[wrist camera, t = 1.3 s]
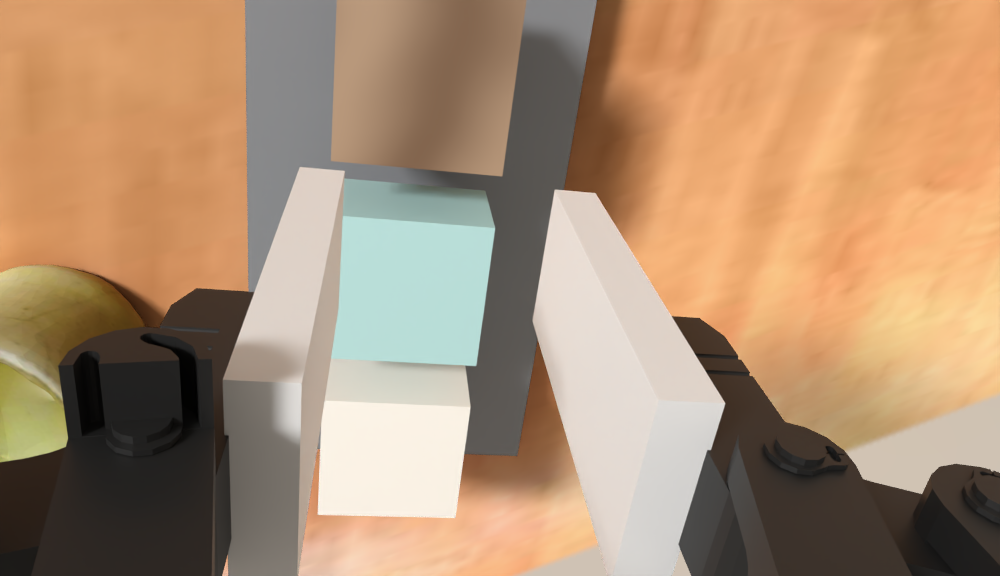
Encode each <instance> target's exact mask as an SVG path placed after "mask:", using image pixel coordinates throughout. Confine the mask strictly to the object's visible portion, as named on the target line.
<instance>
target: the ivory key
mask: <svg viewBox="0 0 1000 576" xmlns="http://www.w3.org/2000/svg"><path fill="white" fill-rule="evenodd" d="M470 408H471V406H470V398H469V391H468V383H467V375H466V367H465V365H446V364H427V363H408V362H389V361H369V360H350V359H331V362H330V368H329V375H328V381H327V388H326V395H325V401H324V408H323V414H322V421H321V443H320V470H319V497H318V515H349V516H394V517H440V518H455V517H456V510H457V502H458V495H459V488H460V481H461V473H462V466H463V459H464V452H465V444H466V437H467V430H468V422H469V415H470Z"/></svg>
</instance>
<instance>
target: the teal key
mask: <svg viewBox="0 0 1000 576" xmlns="http://www.w3.org/2000/svg"><path fill="white" fill-rule="evenodd" d="M494 233H495V225H494V222H493V218H492V214H491V210H490V207H489V203H488V199H487V195H486V192H485V191H484V190H472V189H461V188H449V187H438V186H426V185H415V184H403V183H392V182H380V181H369V180H357V179H346V178H344V198H343V220H342V242H341V264H340V286H339V308H338V315H337V322H336V329H335V335H334V342H333V348H332V355H331V359H350V360H369V361H389V362H408V363H427V364H446V365H465V366H476V364H477V357H478V350H479V342H480V335H481V328H482V321H483V313H484V306H485V299H486V292H487V284H488V277H489V270H490V262H491V255H492V248H493V241H494Z"/></svg>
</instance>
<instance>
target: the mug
mask: <svg viewBox="0 0 1000 576" xmlns="http://www.w3.org/2000/svg"><path fill="white" fill-rule="evenodd" d="M139 327H145V325H144V322H143V320H142V319H141V317H140V316H139V315H138V313H137V312H136V311H135V310H134V308H133V307H132V306H131V304H130V303H129V302H128V301H127V300H126V299H125V298H124V297H123V296H122V294H121V293H120V292H119V291H117V290H116V289H115V288H114V287H113V285H111V284H109V283H108V282H106V281H104V280H103V279H101V278H99V277H98V276H96V275H94V274H90V273H86V272H82V271H79V270H75V269H72V268H66V267H61V266H56V265H27V266H20V267H15V268H11V269H8V270H6V271H4V272H2V273H0V462H5V461H11V460H17V459H24V458H29V457H33V456H37V455H42V454H46V453H50V452H53V451H56V450H59V449H61V448H64V447H66V444H67V440H68V435H67V427H66V420H65V413H64V405H63V398H62V391H61V384H60V376H59V369H58V365H59V364H60V362H61V361H62V360H63V358H64V357H65V355H66V354H67V353H68V351H69V350H71V349H73V348H74V347H76V346H78V345H79V344H81V343H83V342H84V341H86V340H88V339H89V338H93V337H96V336H99V335H102V334H105V333H108V332H112V331H115V330H122V329H131V328H139Z"/></svg>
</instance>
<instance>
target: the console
mask: <svg viewBox="0 0 1000 576" xmlns="http://www.w3.org/2000/svg"><path fill="white" fill-rule="evenodd" d="M596 3H597V0H527V1H526V8H525V15H524V22H523V30H522V37H521V44H520V51H519V59H518V66H517V73H516V81H515V88H514V95H513V102H512V110H511V117H510V124H509V131H508V139H507V146H506V153H505V161H504V168H503V175H502V176H492V175H481V174H470V173H459V172H448V171H436V170H425V169H414V168H403V167H392V166H381V165H370V164H359V163H348V162H336V161H331V145H332V117H333V90H334V63H335V36H336V9H337V0H245V25H246V111H247V196H248V282H249V292H255V289H256V287H257V284H258V281H259V278H260V276H261V273H262V270H263V267H264V264H265V262H266V259H267V256H268V253H269V251H270V248H271V245H272V242H273V240H274V237H275V234H276V231H277V229H278V226H279V223H280V220H281V218H282V215H283V212H284V209H285V207H286V204H287V201H288V198H289V196H290V193H291V190H292V187H293V184H294V182H295V179H296V176H297V173H298V171H299V168H300V167H306V168H318V169H329V170H340V171H345V176H344V178H346V179H357V180H369V181H380V182H392V183H403V184H415V185H426V186H438V187H449V188H461V189H472V190H484V191H485V192H486V195H487V199H488V203H489V207H490V210H491V214H492V218H493V222H494V225H495V233H494V241H493V248H492V255H491V262H490V270H489V277H488V284H487V292H486V299H485V306H484V313H483V321H482V328H481V335H480V342H479V350H478V357H477V364H476V366H465V367H466V375H467V383H468V391H469V398H470V406H471V408H470V415H469V422H468V430H467V437H466V444H465V452H464V454H479V455H508V456H517V455H518V449H519V443H520V438H521V432H522V426H523V420H524V415H525V409H526V403H527V397H528V392H529V386H530V380H531V375H532V369H533V363H534V357H535V352H536V346H537V340H538V338H537V335H536V331H535V328H534V325H533V315H534V309H535V303H536V297H537V291H538V285H539V280H540V274H541V268H542V262H543V256H544V250H545V244H546V238H547V232H548V226H549V221H550V215H551V209H552V203H553V197H554V191H555V190H564V186H565V180H566V174H567V169H568V163H569V157H570V151H571V146H572V140H573V134H574V129H575V123H576V117H577V111H578V106H579V100H580V94H581V89H582V83H583V77H584V71H585V66H586V60H587V54H588V48H589V43H590V37H591V31H592V26H593V20H594V14H595V8H596ZM320 443H321V428H320V434H319V441H318V447H317V449H320Z"/></svg>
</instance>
